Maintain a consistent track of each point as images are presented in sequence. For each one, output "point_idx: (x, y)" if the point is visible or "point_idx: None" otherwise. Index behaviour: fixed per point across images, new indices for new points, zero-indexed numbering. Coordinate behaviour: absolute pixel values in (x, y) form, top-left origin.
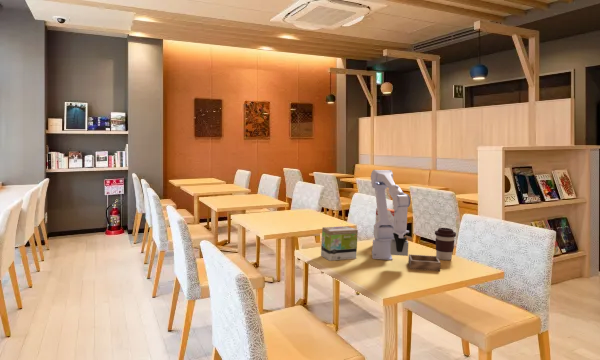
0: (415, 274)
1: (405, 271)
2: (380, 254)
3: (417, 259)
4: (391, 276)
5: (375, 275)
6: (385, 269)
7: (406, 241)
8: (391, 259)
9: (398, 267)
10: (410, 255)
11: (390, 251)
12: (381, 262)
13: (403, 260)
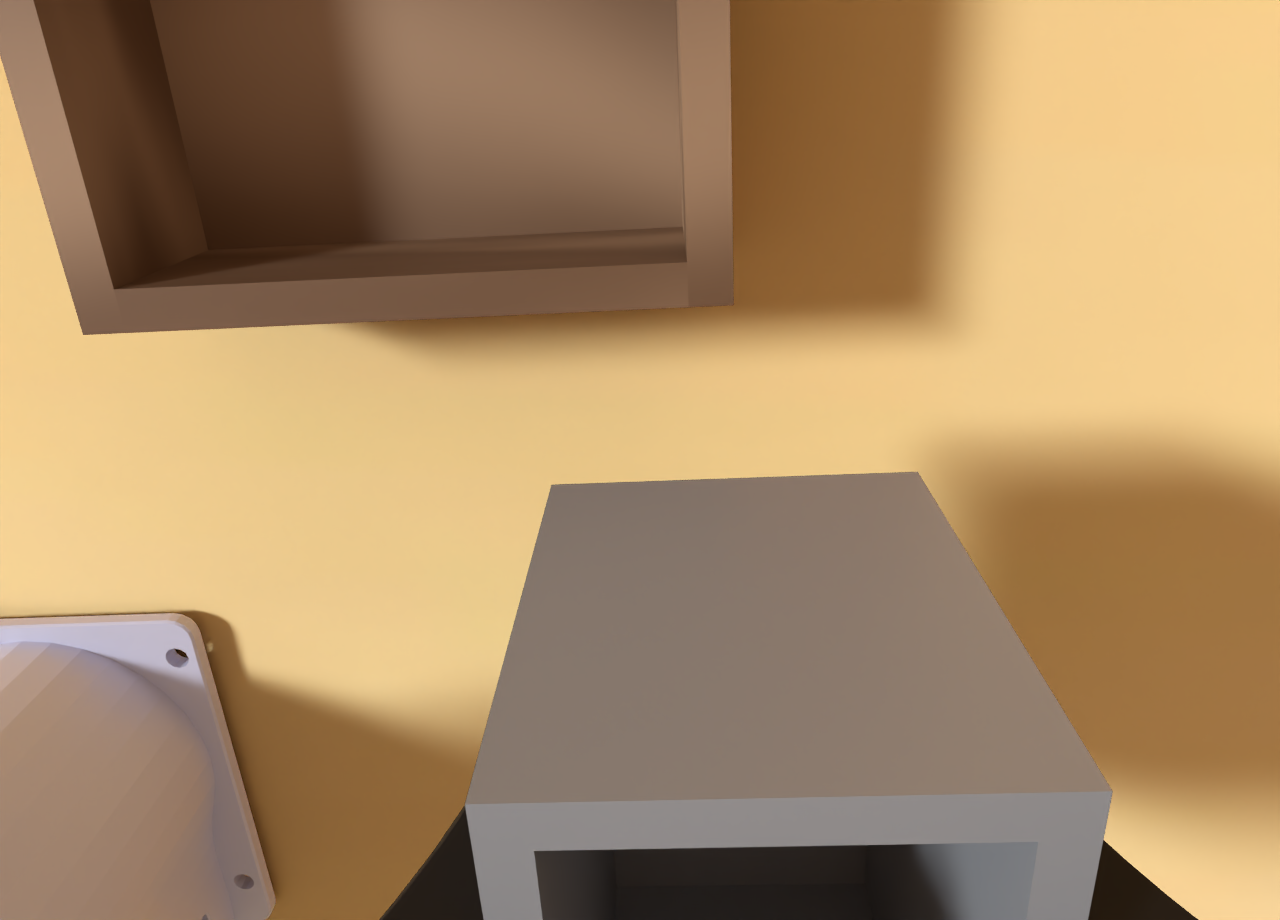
0: (1108, 161)
1: (916, 373)
2: (178, 868)
3: (121, 55)
4: (1273, 632)
5: (1226, 854)
6: None
7: (602, 817)
8: (193, 628)
9: None
10: (179, 291)
11: (693, 917)
12: (431, 776)
13: (75, 382)
